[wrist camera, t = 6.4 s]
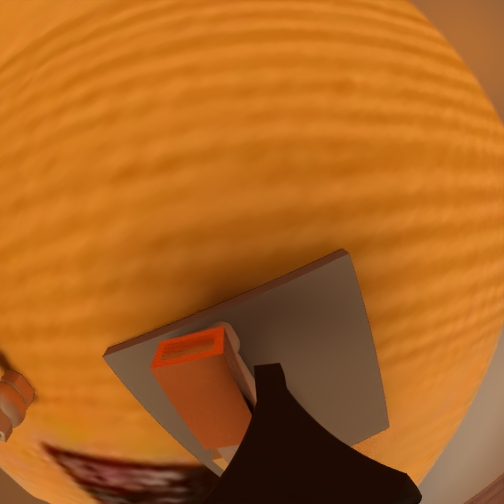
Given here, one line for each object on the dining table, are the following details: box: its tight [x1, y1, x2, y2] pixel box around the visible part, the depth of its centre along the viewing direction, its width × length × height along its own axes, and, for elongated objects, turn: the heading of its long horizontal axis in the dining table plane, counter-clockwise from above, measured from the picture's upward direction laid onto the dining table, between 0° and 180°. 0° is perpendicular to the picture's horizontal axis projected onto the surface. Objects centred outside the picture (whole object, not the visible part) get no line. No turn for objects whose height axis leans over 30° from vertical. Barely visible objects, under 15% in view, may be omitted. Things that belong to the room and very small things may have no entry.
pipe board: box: [103, 249, 389, 477], centre depth 15 cm, size 18×16×5 cm
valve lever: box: [150, 326, 256, 464], centre depth 10 cm, size 12×3×2 cm, turn 16°
